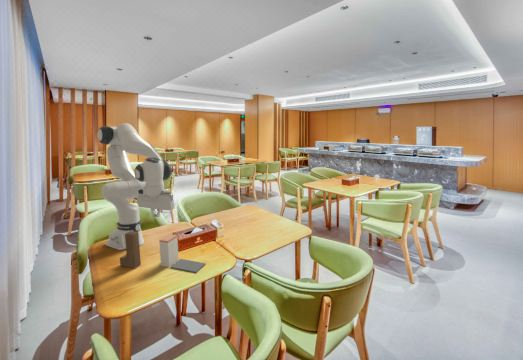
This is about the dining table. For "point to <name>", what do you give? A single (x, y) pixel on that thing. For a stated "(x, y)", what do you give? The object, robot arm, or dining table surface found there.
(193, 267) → the mat
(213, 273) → the dining table surface
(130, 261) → the wooden block
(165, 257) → the cream block
